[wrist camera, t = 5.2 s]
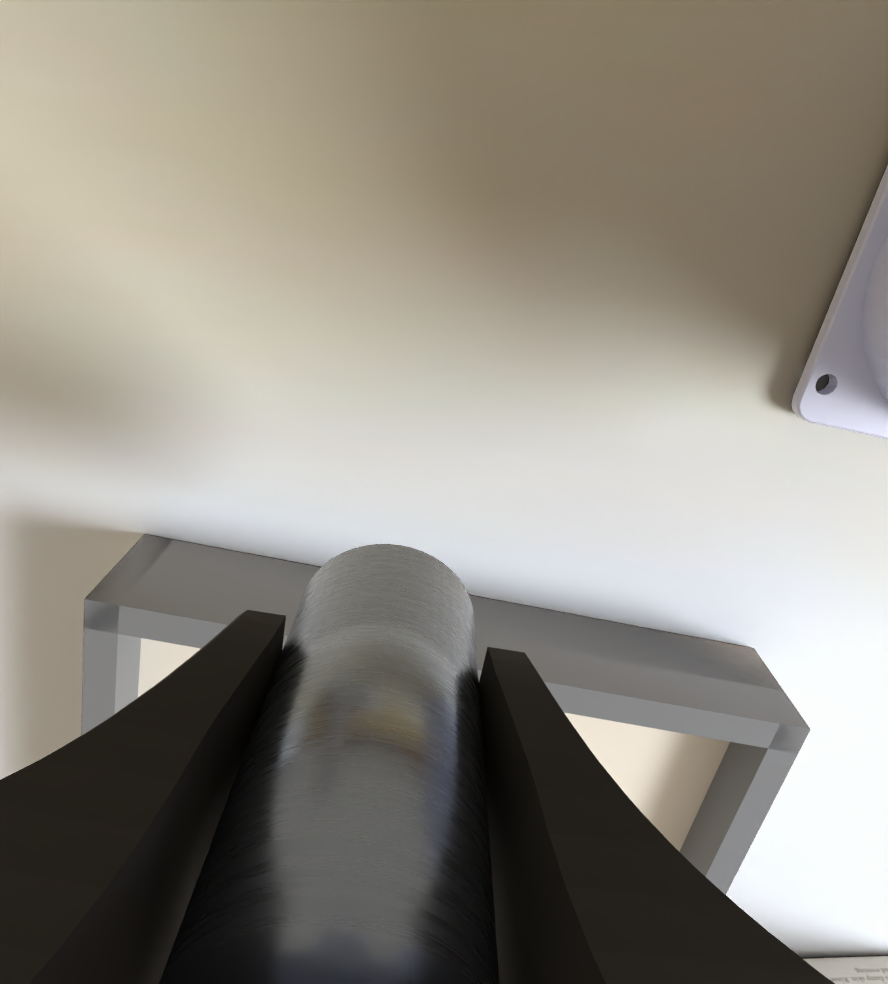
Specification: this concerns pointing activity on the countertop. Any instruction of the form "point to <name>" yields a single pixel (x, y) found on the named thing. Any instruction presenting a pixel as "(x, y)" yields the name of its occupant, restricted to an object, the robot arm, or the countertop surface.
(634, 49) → the countertop surface
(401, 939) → the peg
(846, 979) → the skincare box
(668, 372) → the countertop surface
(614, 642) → the tray
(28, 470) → the countertop surface
